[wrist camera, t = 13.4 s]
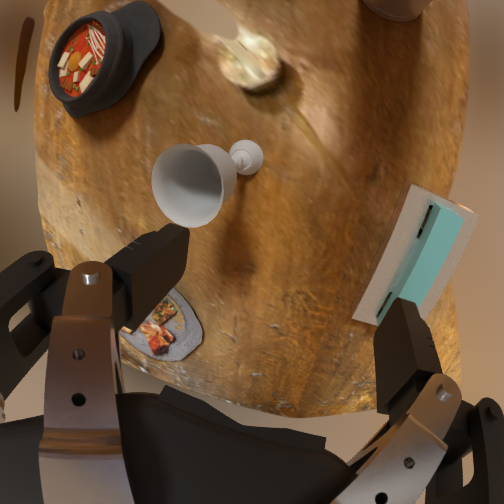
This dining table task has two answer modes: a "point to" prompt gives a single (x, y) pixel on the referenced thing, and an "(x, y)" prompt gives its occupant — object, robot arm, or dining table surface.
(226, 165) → the chalice
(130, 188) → the dining table surface
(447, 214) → the strip bar
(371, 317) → the plate
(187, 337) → the food plate
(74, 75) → the casserole
